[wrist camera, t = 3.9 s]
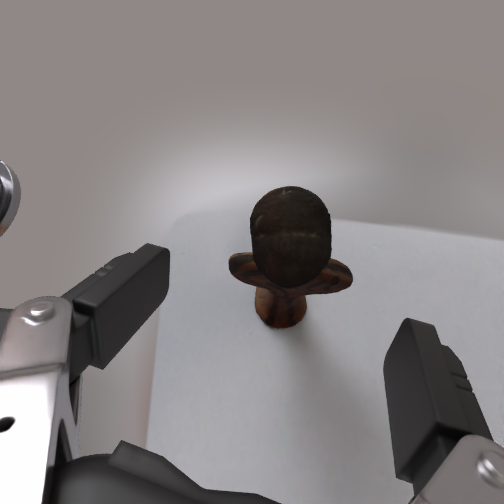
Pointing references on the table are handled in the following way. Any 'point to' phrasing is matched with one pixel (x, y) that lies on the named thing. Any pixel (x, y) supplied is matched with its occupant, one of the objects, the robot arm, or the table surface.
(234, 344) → the table surface
